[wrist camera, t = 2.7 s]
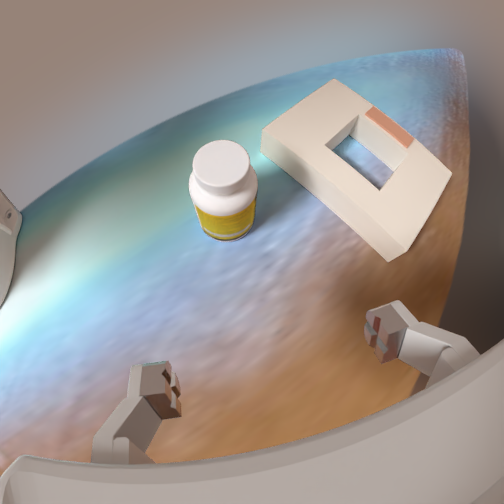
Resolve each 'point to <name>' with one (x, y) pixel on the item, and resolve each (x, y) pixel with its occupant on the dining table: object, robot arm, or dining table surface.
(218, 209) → the supplement bottle
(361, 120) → the socket block
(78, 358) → the dining table surface
